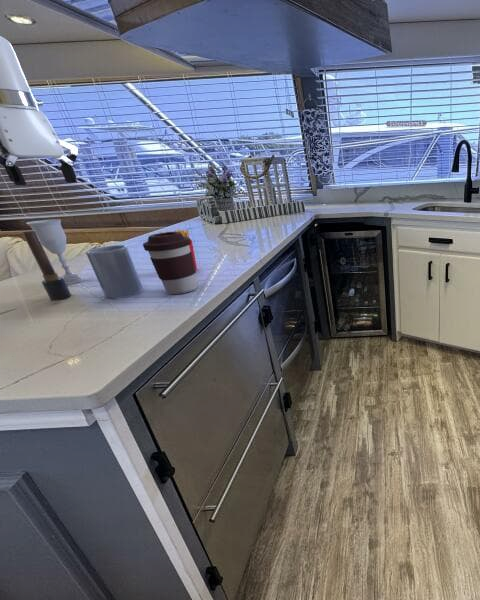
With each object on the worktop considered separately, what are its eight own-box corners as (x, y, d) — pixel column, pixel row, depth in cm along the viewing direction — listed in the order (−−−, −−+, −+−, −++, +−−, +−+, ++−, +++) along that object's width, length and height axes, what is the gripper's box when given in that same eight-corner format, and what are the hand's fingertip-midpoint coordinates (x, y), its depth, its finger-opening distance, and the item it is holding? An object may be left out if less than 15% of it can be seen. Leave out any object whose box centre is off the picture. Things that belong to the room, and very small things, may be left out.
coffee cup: (175, 284, 90) (157, 231, 84) (210, 282, 91) (195, 229, 85) (151, 298, 81) (130, 239, 75) (191, 296, 81) (172, 237, 76)
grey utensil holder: (107, 301, 81) (87, 254, 76) (103, 293, 86) (84, 249, 81) (145, 291, 86) (129, 247, 81) (139, 285, 91) (123, 243, 86)
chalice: (50, 284, 95) (19, 223, 87) (77, 277, 101) (50, 219, 93) (67, 286, 93) (36, 223, 85) (93, 278, 98) (67, 219, 91)
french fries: (197, 267, 106) (185, 227, 101) (201, 269, 103) (189, 229, 98) (164, 274, 100) (150, 232, 95) (168, 277, 97) (153, 234, 92)
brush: (50, 301, 82) (15, 233, 75) (50, 298, 84) (16, 231, 77) (72, 297, 84) (39, 230, 77) (71, 293, 87) (39, 228, 80)
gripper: (51, 109, 80) (80, 181, 87) (-57, 97, 65) (-12, 186, 72) (69, 106, 78) (98, 181, 84) (-38, 93, 63) (7, 186, 69)
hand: (47, 183), depth 78 cm, fingers open, 9 cm apart
